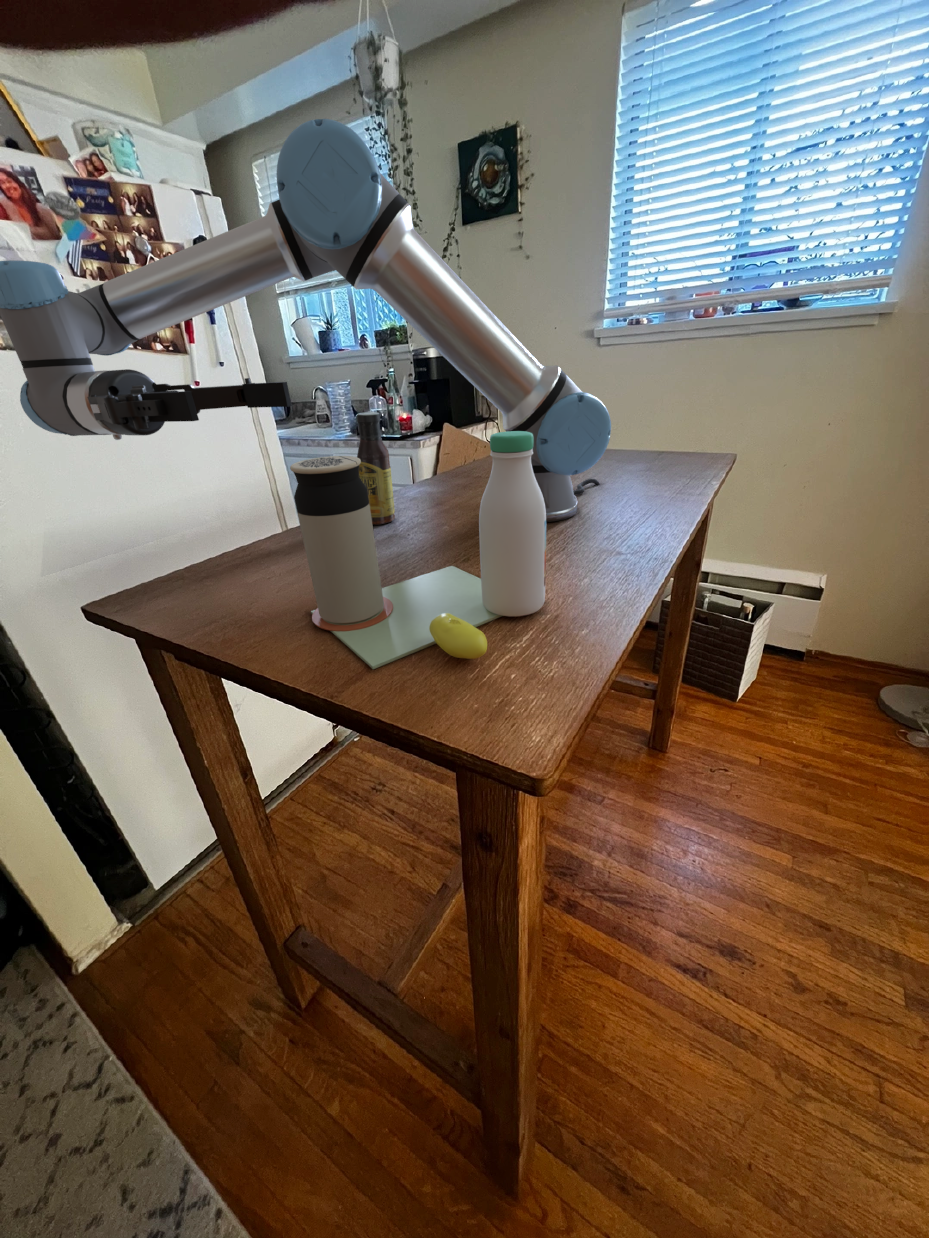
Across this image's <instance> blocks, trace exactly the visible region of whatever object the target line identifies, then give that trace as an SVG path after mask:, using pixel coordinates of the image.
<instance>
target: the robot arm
mask: <svg viewBox="0 0 929 1238" xmlns="http://www.w3.org/2000/svg"><path fill="white" fill-rule="evenodd" d="M276 187H277V193H278V199H276V200H274V201H272V202H270V203H269V204H268V207H267V212H266V214H265V215H263V216H261V217H258V218H257V219H256V218H255V219H254V220H251V221H249V222H247V223H243V224H241V225H239V226H237V227H235V228H231V229H230V230H227V231H224V232H223V233H220V234H217V235H215V236H212V237H210V238H208V239H205V240H203V241H201V242H198V243H196V244H194V245H190V246H189V247H186V248H184V249H181V250H179V251H177V252H173V253H171V254H169V255H167V256H164V257H162V258H160V259H157V260H155V261H152V262H150V263H147V264H145V265H143V266H140V267H138V268H136V269H133V270H131V271H128V272H126V273H123V274H121V275H118V276H115V277H114V278H111V279H109V280H106V281H104V282H103V283H101V284H98V285H95V286H92V287H90V288H88V289H86V290H82V291H80V292H73V291H70V290H69V289H68V287H67V285H66V284H65V282H64V280H63V277H62V276H61V273H60V272H59V271H58V269H57V268H56V267H54V266H53V265H51V264H49V263H45V262H42V261H41V262H39V261H33V260H32V261H31V260H14V259H13V260H0V319H1V320H2V323H3V326H4V327H5V330H6V332H7V335H8V337H9V339H10V341H11V344H12V346H13V348H14V350H15V354H16V355H17V358H18V360H19V362H20V364H21V366H22V367H21V368H22V371H23V374H24V375H25V378H26V381H24V382H23V384H22V385H21V387H20V393H19V395H20V396H19V402H20V406H21V408H22V410H23V412H24V413H25V415H26V417H28V419H29V420H31V421H32V423H34V424H35V425H36V426H38V427H39V428H41V429H42V430H45V431H47V432H50V433H54V434H59V435H67V436H70V437H78V436H112V437H113V439H114V440H115V441H120V440H122V439H123V438H122V437H123V436H151V435H153V434H156V433H157V432H158V431H160V429H162V428H163V426H164V425H165V423H167V422H170V423H173V422H198V421H200V418H199V415H198V414H200V413H201V410H203V411H204V410H214V409H226V408H228V409H229V408H240V407H247V408H248V409H249V408H251V409H252V408H256V409H257V408H287V407H288V408H289V407H292V401H291V395H290V390H289V386H288V382H287V381H275V382H273V381H272V382H252V381H251V377H244V383H242V384H235V385H217V386H203V387H195V386H193V384H190V383H189V384H188V383H187V384H177V385H176V384H175V385H174V384H173V385H171V384H168V383H156V382H155V381H154V380H153V379H152V378H151V377H149V376H148V375H147V374H145V373H143V372H141V371H138V370H136V369H125V368H124V369H112V370H95V368H94V364H93V360H92V358H91V355H98V356H107V357H108V356H112V355H116V354H120V353H123V352H125V351H126V350H128V349H129V347H130V346H131V344H134V343H135V342H138V340H139V341H140V340H143V338H145V337H148V336H151V335H153V334H156V333H159V332H161V331H163V330H165V329H168V328H170V327H173V326H176V325H178V324H180V323H183V322H186V321H188V320H190V319H191V320H192V319H194V318H196V317H198V316H200V315H203V314H205V313H208V312H211V311H213V310H216V309H218V308H220V307H223V306H225V305H228V304H230V303H232V302H234V301H238V300H240V299H242V298H246V297H247V296H249V295H252V294H255V293H258V292H259V291H262V290H264V289H266V288H269V287H272V286H274V285H277V284H279V283H282V282H284V281H287V280H289V279H292V278H296V279H298V280H300V281H301V282H306V281H310V280H311V279H315V278H317V277H320V276H323V275H325V274H328V273H332V272H335V271H336V272H337V273H338V274H339V275H340V276H341V277H342V278H344V279H345V280H346V281H347V282H348V283H349V285H351V286H352V287H353V288H354V289H355V290H373V291H374V292H376V293H377V294H378V295H379V296H380V297H381V299H383V300H384V301H385V302H386V303H387V304H388V305H389V306H390V307H391V308H392V309H393V310H394V311H395V312H396V313H397V314H398V315H399V316H401V318H403V320H405V321H406V322H407V323H408V324H409V325H410V326H411V327H412V328H413V329H414V330H415V331H416V332H417V333H418V334H419V335H420V336H421V337H422V338H423V339H425V341H426V342H428V343H429V345H431V346H432V347H433V348H434V349H435V350H436V351H437V353H439V354H440V355H441V356H442V357H443V358H444V359H445V360H447V362H448V363H449V364H450V365H451V366H452V367H454V369H455V370H456V371H458V372H459V373H460V374H461V375H462V376H463V377H464V378H465V379H466V380H467V381H468V382H469V383H470V384H471V385H472V386H473V387H474V388H475V389H476V390H477V391H479V392H480V394H482V395H483V397H485V398H486V399H487V401H489V402H490V403H491V404H492V405H493V406H494V407H495V408H496V409H497V410H498V411H499V412H500V413H501V415H502V429H503V430H504V432H508V431H526V432H530V433H532V434H533V440H534V443H533V454H532V455H531V464H532V469H533V472H534V476H535V478H536V481H537V483H538V486H539V488H540V490H541V492H542V495H543V498H544V502H545V509H546V523H553V522H558V521H563V520H566V519H569V518H571V517H573V516H575V515H576V514H577V512H578V499H577V496H576V495H580V494H583V493H584V492H585V490H586V489H585V486H587V485H589V484H594V485H595V486H600V484H601V483H600V482H599V480H597V479H595V478H587V479H584V480H583V481H581V482H580V483H579V484H577V485H576V489H575V490H574V487H573V482H572V478H571V477H572V476H575V475H580V474H582V473H584V472H586V471H588V470H590V469H591V468H593V466H595V465H596V464H597V463H598V462H599V461H600V459H601V458H602V457H603V455H604V454H605V452H606V450H607V448H608V446H609V443H610V440H611V434H612V433H611V432H612V421H611V416H610V413H609V410H608V409H607V407H606V406H605V405H604V403H603V402H602V401H601V400H600V399H599V398H598V397H596V396H594V395H593V394H591V393H589V392H585V391H583V390H581V389H580V388H579V386H578V385H576V383H575V382H574V381H573V380H572V379H571V378H570V376H568V374H566V373H565V372H564V371H563V369H562V368H561V367H560V366H559V365H542V364H541V363H540V361H538V359H537V358H536V357H535V356H534V355H533V354H532V353H531V352H530V351H529V350H528V349H527V348H526V347H525V346H524V345H523V343H522V342H521V341H520V340H519V339H518V338H517V337H516V336H515V335H514V334H513V333H512V332H511V331H510V330H509V328H507V326H505V324H504V323H503V322H502V321H501V320H500V319H499V318H498V316H496V315H495V314H494V312H492V310H491V309H490V308H489V307H488V306H487V305H486V304H485V303H484V302H483V300H481V299H480V297H478V295H477V294H476V293H475V292H474V291H473V290H472V289H471V288H470V286H468V285H467V284H466V282H465V281H464V280H462V278H460V277H459V275H458V274H457V273H456V272H455V271H454V270H453V269H452V268H451V267H450V265H448V263H446V261H444V259H443V258H442V257H441V256H440V255H439V253H437V252H436V251H435V250H434V249H433V247H432V246H431V245H430V244H429V243H428V242H427V241H426V240H425V239H424V238H423V237H422V236H421V235H420V234H419V232H418V231H416V229H415V228H414V225H413V218H412V217H413V216H412V209H411V207H412V206H411V205H410V203H408V201H407V200H406V199H405V198H404V197H403V196H402V195H401V194H400V192H399V191H398V190H397V189H396V188H395V187H394V186H393V185H392V184H391V183H390V182H389V181H388V179H387V178H386V177H385V176H384V175H383V174H382V173H381V172H380V167H379V165H378V162H377V161H376V158H375V157H374V154H373V153H372V151H371V150H370V147H369V146H368V145H367V143H366V142H365V141H364V140H363V139H362V138H361V136H360V135H359V134H358V132H356V131H355V130H354V129H353V128H351V127H349V126H348V125H346V124H344V123H342V122H341V121H337V120H334V119H330V118H316V119H309V120H307V121H305V122H302V123H301V124H299V125H298V126H297V127H296V128H294V129H293V130H292V131H291V132H290V133H289V135H288V136H287V137H286V139H285V141H284V142H283V144H282V146H281V148H280V152H279V154H278V158H277V163H276ZM181 390H183V391H181Z"/></svg>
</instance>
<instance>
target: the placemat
mask: <svg viewBox="0 0 929 1238" xmlns="http://www.w3.org/2000/svg"><path fill="white" fill-rule="evenodd" d="M382 594H383V601H384V606H383V608H382V610H381V611H380V612H379V613H377V614H376V615H374V616H372V617H370V618H368V619H366V620H363V621H360V622H355V623H333V622H329V621H326V620H324V619H322V618H321V617H320V615H319V611H318V607H316V609H313V610H310V614H311V621H312V623H313V624H314V625H315V626H316V627H317V628H319V629H322V630H326V631H330V632H331V633H332V634H333V635H334V636H335V637H336V638H337V639H338V640H340V641H341V642H342V644H344V645H345V646H346V647H347V648H349V649H350V650H351V651H352V652H353V653H354V654H355V655H356V656H357V657H359V658H360V659H361V660H362V661H363V662H364V663H365V664H366V665H368V667H370V669H372V670H376V669H378V668H380V667H382V666H385V665H388V664H390V663H393V662H395V661H397V660H399V659H402V658H405V657H407V656H409V655H411V654H414V653H416V652H419V651H421V650H424V649H426V648H429V647H431V646H433V645H436V644H437V643H436V642H435V640H434V638H433V637H432V635H431V633H430V624H431V621H432V620H433V619H435V618H436V617H437V616H439V615H441V614H444V613H449V614H452V615H453V616H455V617H457V618H460V619H462V620H464V621H466V622H468V623H469V624H471V625H472V626H474V627H475V628H477V627H479V626H482V625H484V624H487V623H489V622H492V621H495V620H497V619H499V618H501V617H504V616H503V615H498V614H495V613H492V612H490V611H488V610H487V609H486V608H485V606H484V605H483V602H482V588H481V577H478V576H476V575H473V574H471V573H470V572H467V571H464V570H463V569H460V568H458V567H456V566H455V565H449V566H446V567H443V568H440V569H437V570H434V571H431V572H429V573H428V572H427V573H425V574H421V575H418V576H415V577H411V578H410V579H406V580H403V581H399V582H397V583H394V584H390V585H387V586H384V587H382Z"/></svg>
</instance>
